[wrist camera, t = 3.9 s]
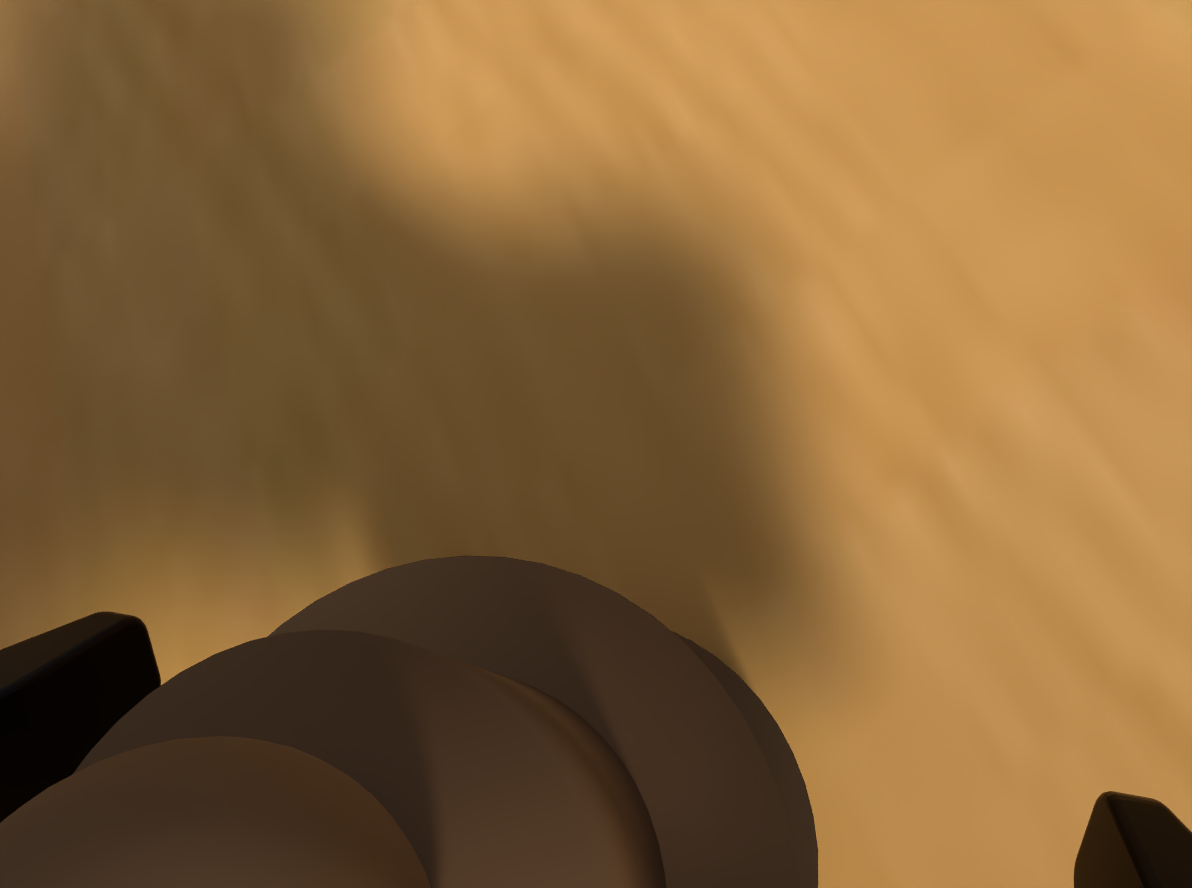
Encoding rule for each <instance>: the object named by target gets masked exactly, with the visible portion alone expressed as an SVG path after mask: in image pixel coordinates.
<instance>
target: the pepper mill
mask: <svg viewBox="0 0 1192 888" xmlns="http://www.w3.org/2000/svg"><path fill="white" fill-rule="evenodd" d="M0 888H818V847H817V840H816V832H815V825H814V817H813V813H812V809H811V805H810V801H809V797H808V793H807V789H806V785H805V782H804V780H803V777H802V774H801V772H800V769H799V767H798V764H797V762H796V759H795V757H794V754H793V752H792V750H791V748H790V746H789V744H788V742H787V741H786V739H785V737H784V735H783V733H782V731H781V729H780V728H779V726H778V724H777V723H776V721H775V720H774V718H773V717H772V716H771V714H770V713H769V711H768V710H767V708H766V707H765V706H764V704H763V703H762V701H761V700H760V699H759V697H758V696H757V695H756V694H755V693H754V692H753V691H752V690H751V689H750V688H749V687H748V686H747V684H746V683H745V682H744V681H743V680H742V679H741V678H740V677H739V676H738V675H737V674H736V673H735V672H733V671H732V670H731V669H730V668H729V667H728V666H726V665H725V664H724V663H723V662H722V661H720V660H719V659H718V658H717V657H716V656H714V655H713V654H711V653H710V652H708V651H706V650H705V649H703V648H702V647H700V646H699V645H697V644H696V643H694V642H693V641H691V640H689V639H687V638H684V637H682V636H680V635H678V634H676V633H674V632H672V631H670V630H669V629H668V628H667V627H665V626H664V625H663V624H662V623H661V622H659V621H658V620H657V619H656V618H655V617H654V616H652V615H651V614H649V613H648V612H646V611H645V610H643V609H641V608H640V607H638V606H637V605H635V604H634V603H632V602H631V601H629V600H627V599H626V598H624V597H623V596H621V595H620V594H618V593H616V592H614V591H612V590H610V589H608V588H606V587H604V586H601V585H599V584H597V583H595V582H593V581H591V580H589V579H587V578H584V577H582V576H580V575H577V574H574V573H571V572H567V571H564V570H561V569H558V568H555V567H551V566H548V565H545V564H542V563H536V562H530V561H524V560H518V559H512V558H506V557H487V556H457V557H447V558H437V559H428V560H422V561H418V562H414V563H410V564H405V565H401V566H397V567H393V568H388V569H385V570H383V571H380V572H378V573H375V574H372V575H370V576H367V577H364V578H362V579H359V580H356V581H354V582H351V583H349V584H347V585H345V586H343V587H341V588H339V589H338V590H336V591H334V592H332V593H330V594H328V595H326V596H324V597H322V598H320V599H319V600H317V601H315V602H313V603H312V604H311V605H309V606H308V607H306V608H305V609H303V610H302V611H300V612H299V613H297V614H296V615H295V616H293V617H292V618H290V619H289V620H287V621H286V622H284V623H283V624H282V625H280V626H279V627H278V628H277V629H276V630H275V631H274V632H272V633H271V634H270V635H269V636H268V637H265V638H261V639H257V640H252V641H249V642H246V643H243V644H241V645H238V646H235V647H233V648H230V649H227V650H225V651H222V652H219V653H217V654H214V655H212V656H210V657H209V658H207V659H205V660H203V661H201V662H199V663H197V664H195V665H193V666H191V667H189V668H188V669H186V670H184V671H182V672H180V673H179V674H177V675H176V676H174V677H173V678H171V679H170V680H169V681H167V682H166V683H164V684H163V685H161V686H160V687H158V688H157V689H155V690H154V691H153V692H151V693H150V694H148V695H147V696H146V697H145V698H144V699H143V700H141V701H140V702H139V703H138V704H137V705H136V706H134V707H133V708H132V709H131V710H130V711H129V712H128V713H126V714H125V715H124V716H123V717H122V718H121V719H120V720H118V721H117V722H116V724H115V725H114V726H113V727H112V728H111V729H110V730H109V731H108V732H107V733H106V734H105V735H104V737H103V738H102V739H101V740H100V741H99V742H98V743H97V744H96V745H95V746H94V747H93V748H92V749H91V751H90V752H89V753H88V754H87V756H86V757H85V758H84V760H83V761H82V762H81V764H80V765H79V766H78V768H77V769H76V770H75V772H74V773H73V774H72V775H71V776H69V777H67V778H65V779H63V780H62V781H60V782H58V783H56V784H54V785H52V786H50V787H48V788H47V789H45V790H44V791H43V792H41V793H40V794H38V795H37V796H35V797H34V798H32V799H31V800H30V801H28V802H27V803H25V804H24V805H22V806H21V807H20V808H18V809H17V810H16V811H15V812H13V813H12V814H11V815H9V816H8V817H7V818H6V819H4V820H3V821H2V822H1V823H0Z"/></svg>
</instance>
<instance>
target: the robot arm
mask: <svg viewBox="0 0 1192 888" xmlns="http://www.w3.org/2000/svg"><path fill="white" fill-rule="evenodd" d="M160 686H161V678H160V673H159V670H158V666H157V662H156V659H155V655H154V652H153V648H152V645H151V641H150V637H149V634H148V630H147V628H146V625H145V624H144V623H143V622H142V620H141V619H139V618H137V617H135V616H131V615H125V614H119V613H114V612H98V613H95V614H92V615H89V616H87V617H84V618H82V619H79V620H76V621H74V622H71V623H69V624H66V625H63V626H61V627H58V628H56V629H53V630H51V631H48V632H45V633H43V634H40V635H38V636H35V637H32V638H30V639H27V640H25V641H22V642H19V643H17V644H14V645H12V646H9V647H7V648H4V649H1V650H0V823H1V822H2V821H3V820H4V819H6V818H7V817H8V816H9V815H11V814H12V813H13V812H15V811H16V810H17V809H18V808H20V807H21V806H22V805H24V804H25V803H27V802H28V801H30V800H31V799H32V798H34V797H35V796H37V795H38V794H40V793H41V792H43V791H44V790H45V789H47V788H48V787H50V786H52V785H54V784H56V783H58V782H60V781H62V780H63V779H65V778H67V777H69V776H71V775H72V774H73V773H74V772H75V770H76V769H77V768H78V766H79V765H80V764H81V762H82V761H83V760H84V758H85V757H86V756H87V754H88V753H89V752H90V751H91V749H92V748H93V747H94V746H95V745H96V744H97V743H98V742H99V741H100V740H101V739H102V738H103V737H104V735H105V734H106V733H107V732H108V731H109V730H110V729H111V728H112V727H113V726H114V725H115V724H116V722H117V721H118V720H120V719H121V718H122V717H123V716H124V715H125V714H126V713H128V712H129V711H130V710H131V709H132V708H133V707H134V706H136V705H137V704H138V703H139V702H140V701H141V700H143V699H144V698H145V697H146V696H147V695H148V694H150V693H151V692H153V691H154V690H155V689H157V688H158V687H160ZM1074 888H1192V832H1191V831H1190V830H1189V829H1188V828H1187V827H1186V826H1185V825H1184V824H1183V823H1182V822H1181V821H1180V820H1179V819H1178V818H1177V817H1176V816H1175V815H1174V813H1173V812H1172V811H1171V810H1170V809H1169V808H1167V807H1166V806H1165V805H1164V804H1162V803H1161V802H1159V801H1157V800H1155V799H1152V798H1147V797H1141V796H1135V795H1130V794H1124V793H1119V792H1113V791H1109V792H1104V793H1102V794H1101V795H1100V796H1099V797H1098V799H1097V800H1096V803H1095V805H1094V808H1093V811H1092V814H1091V817H1090V819H1089V822H1088V825H1087V828H1086V831H1085V834H1084V837H1083V840H1082V843H1081V846H1080V849H1079V852H1078V855H1077V858H1076V862H1075V868H1074Z"/></svg>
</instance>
